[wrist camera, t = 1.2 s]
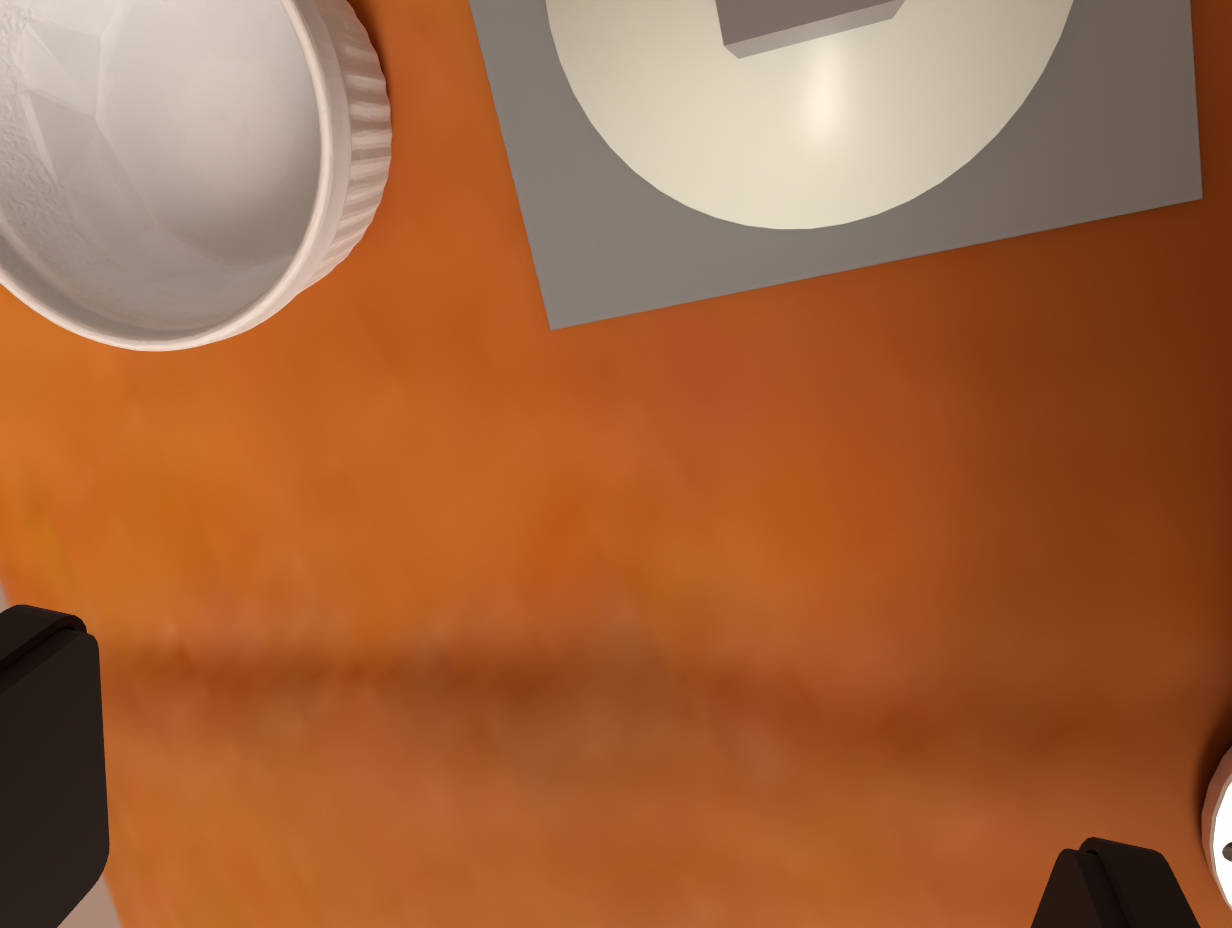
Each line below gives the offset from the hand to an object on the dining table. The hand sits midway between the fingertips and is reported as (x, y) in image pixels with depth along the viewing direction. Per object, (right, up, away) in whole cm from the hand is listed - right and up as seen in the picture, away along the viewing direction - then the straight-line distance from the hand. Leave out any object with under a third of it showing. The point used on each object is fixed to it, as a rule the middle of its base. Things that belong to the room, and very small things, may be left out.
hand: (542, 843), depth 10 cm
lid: (+6, +18, +19) cm, 27 cm away
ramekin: (-12, +15, +25) cm, 31 cm away
